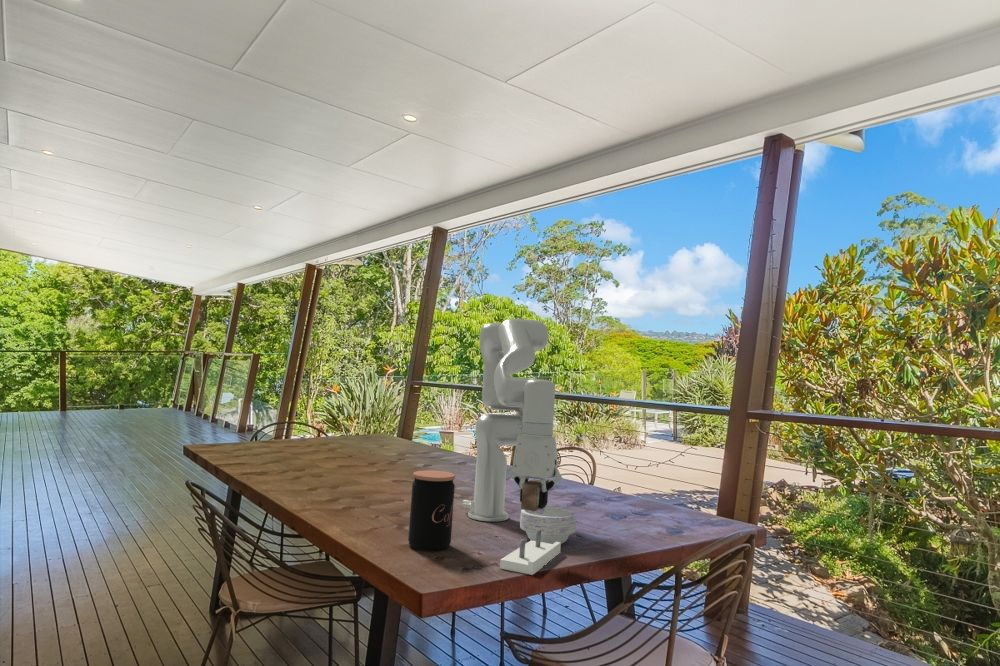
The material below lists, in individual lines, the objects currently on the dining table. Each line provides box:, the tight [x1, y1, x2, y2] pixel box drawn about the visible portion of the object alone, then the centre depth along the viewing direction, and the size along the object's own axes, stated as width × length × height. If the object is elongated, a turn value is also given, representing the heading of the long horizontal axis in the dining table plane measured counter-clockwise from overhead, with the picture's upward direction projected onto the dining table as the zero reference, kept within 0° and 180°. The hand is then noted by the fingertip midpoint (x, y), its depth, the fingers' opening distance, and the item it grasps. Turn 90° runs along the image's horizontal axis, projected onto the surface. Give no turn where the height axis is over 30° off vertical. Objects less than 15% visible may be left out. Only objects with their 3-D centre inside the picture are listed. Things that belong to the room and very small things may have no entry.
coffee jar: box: [407, 469, 456, 552], centre depth 157 cm, size 11×11×18 cm
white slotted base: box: [499, 530, 562, 576], centre depth 149 cm, size 8×20×6 cm, turn 156°
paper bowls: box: [519, 506, 577, 545], centre depth 169 cm, size 15×15×8 cm
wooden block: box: [520, 479, 542, 511], centre depth 150 cm, size 4×7×6 cm, turn 156°
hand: (533, 505), depth 150 cm, fingers closed on wooden block, 3 cm apart
